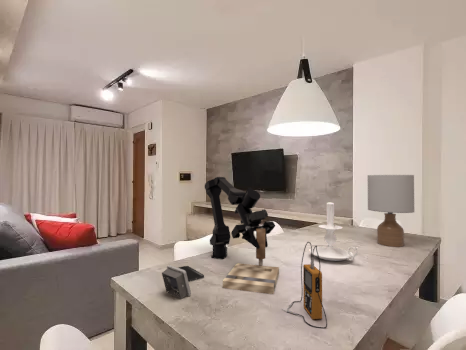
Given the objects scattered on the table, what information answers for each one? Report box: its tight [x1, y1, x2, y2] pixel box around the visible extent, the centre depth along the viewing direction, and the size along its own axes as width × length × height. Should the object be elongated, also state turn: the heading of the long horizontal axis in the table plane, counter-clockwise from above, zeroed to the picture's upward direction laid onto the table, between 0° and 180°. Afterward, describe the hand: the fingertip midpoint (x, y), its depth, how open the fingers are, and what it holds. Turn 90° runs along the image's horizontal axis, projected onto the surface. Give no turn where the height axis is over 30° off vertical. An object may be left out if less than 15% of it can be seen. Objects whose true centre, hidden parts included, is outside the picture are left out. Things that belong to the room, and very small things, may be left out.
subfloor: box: [222, 262, 280, 295], centre depth 97 cm, size 18×20×2 cm
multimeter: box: [281, 241, 328, 329], centre depth 73 cm, size 15×10×20 cm
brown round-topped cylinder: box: [255, 228, 266, 266], centre depth 98 cm, size 4×4×14 cm
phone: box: [177, 265, 205, 283], centre depth 103 cm, size 8×1×15 cm
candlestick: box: [308, 201, 359, 262], centre depth 123 cm, size 21×25×28 cm
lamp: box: [367, 174, 415, 248], centre depth 154 cm, size 24×24×42 cm
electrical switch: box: [161, 264, 192, 300], centre depth 84 cm, size 9×5×9 cm, turn 51°
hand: (262, 247), depth 97 cm, fingers closed on brown round-topped cylinder, 4 cm apart
